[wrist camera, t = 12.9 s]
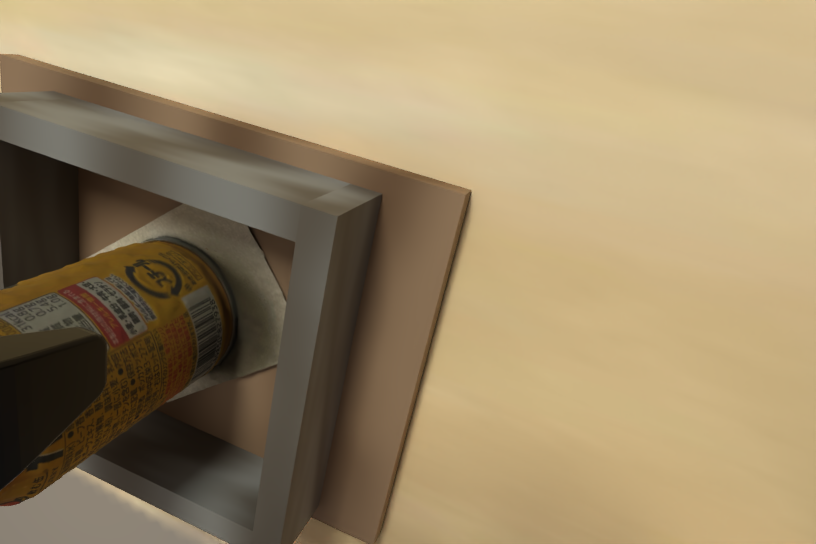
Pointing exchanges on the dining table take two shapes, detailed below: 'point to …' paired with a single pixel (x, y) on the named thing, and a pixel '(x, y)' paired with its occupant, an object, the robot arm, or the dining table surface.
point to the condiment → (152, 325)
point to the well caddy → (293, 270)
